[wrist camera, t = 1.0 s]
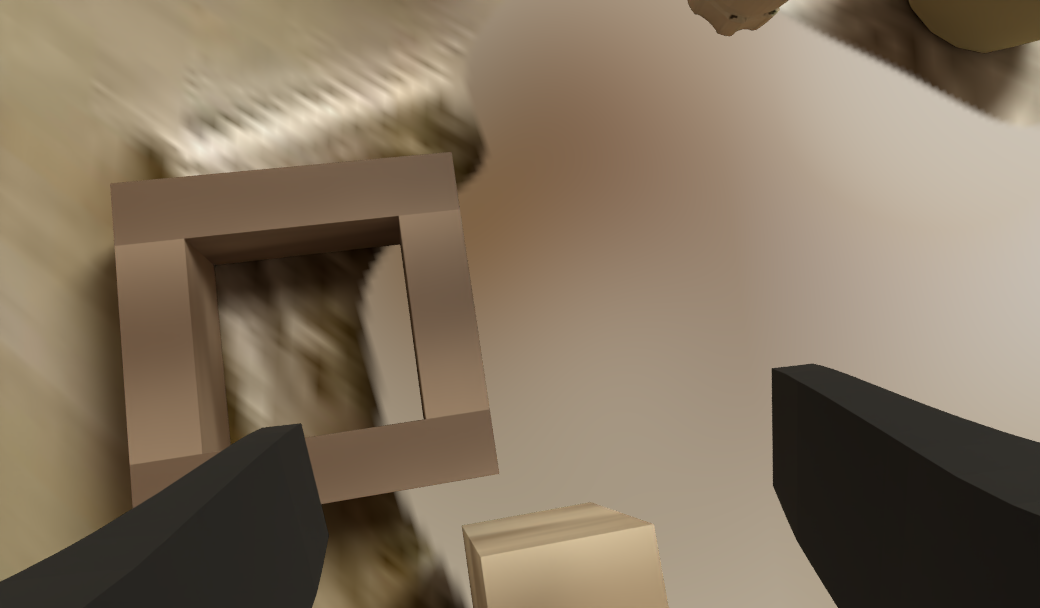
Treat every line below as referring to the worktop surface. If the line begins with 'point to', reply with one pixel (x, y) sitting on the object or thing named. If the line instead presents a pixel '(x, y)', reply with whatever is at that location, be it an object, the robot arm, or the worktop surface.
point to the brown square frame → (285, 233)
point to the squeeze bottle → (981, 22)
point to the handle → (736, 13)
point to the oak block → (565, 560)
